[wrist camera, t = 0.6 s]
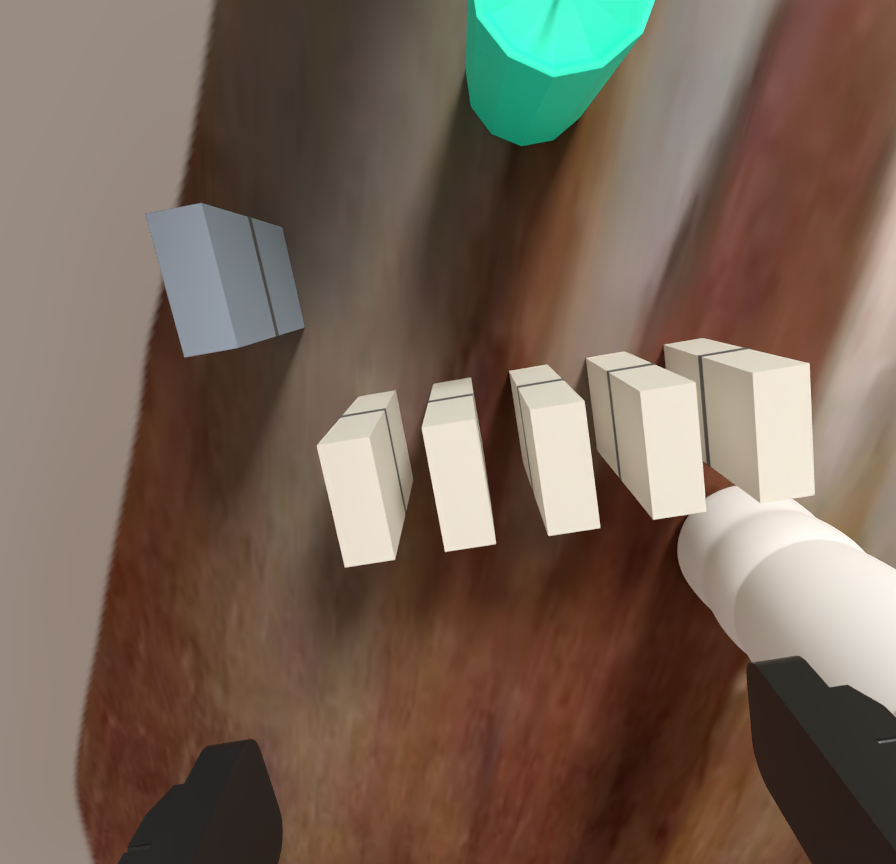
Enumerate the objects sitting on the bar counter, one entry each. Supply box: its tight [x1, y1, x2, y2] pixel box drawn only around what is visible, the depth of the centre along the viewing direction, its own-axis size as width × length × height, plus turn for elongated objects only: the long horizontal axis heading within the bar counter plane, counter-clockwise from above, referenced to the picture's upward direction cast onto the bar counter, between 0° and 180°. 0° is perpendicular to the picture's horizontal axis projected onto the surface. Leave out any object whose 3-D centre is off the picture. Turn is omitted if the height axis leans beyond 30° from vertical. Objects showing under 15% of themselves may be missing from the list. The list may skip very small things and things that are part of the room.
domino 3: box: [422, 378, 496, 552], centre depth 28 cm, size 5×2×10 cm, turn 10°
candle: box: [466, 0, 655, 146], centre depth 23 cm, size 6×6×12 cm
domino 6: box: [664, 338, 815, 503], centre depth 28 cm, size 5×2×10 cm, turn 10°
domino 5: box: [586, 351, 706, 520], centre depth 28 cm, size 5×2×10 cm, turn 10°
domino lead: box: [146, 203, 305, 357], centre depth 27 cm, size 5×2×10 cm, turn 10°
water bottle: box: [677, 486, 896, 717], centre depth 22 cm, size 7×7×25 cm
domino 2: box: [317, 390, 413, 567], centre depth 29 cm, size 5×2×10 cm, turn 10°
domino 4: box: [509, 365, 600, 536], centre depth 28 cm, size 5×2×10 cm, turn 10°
